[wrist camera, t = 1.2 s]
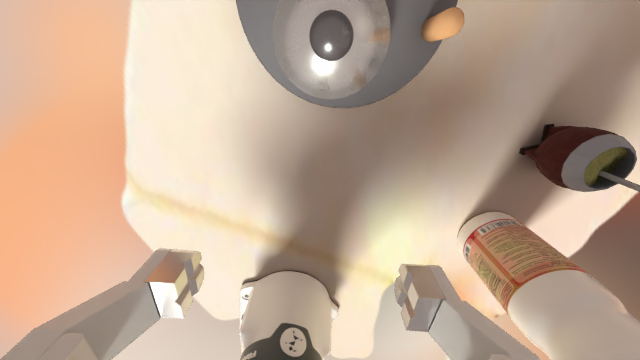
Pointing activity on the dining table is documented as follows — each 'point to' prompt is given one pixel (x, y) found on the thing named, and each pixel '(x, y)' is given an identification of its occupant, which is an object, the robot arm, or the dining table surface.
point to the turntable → (402, 55)
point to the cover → (331, 44)
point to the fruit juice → (548, 292)
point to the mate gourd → (583, 158)
